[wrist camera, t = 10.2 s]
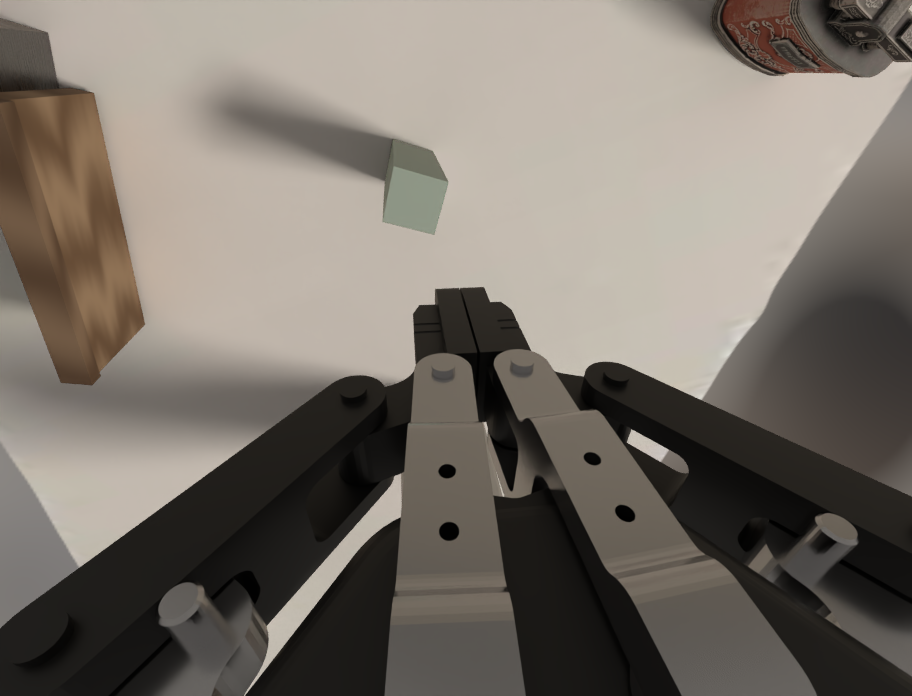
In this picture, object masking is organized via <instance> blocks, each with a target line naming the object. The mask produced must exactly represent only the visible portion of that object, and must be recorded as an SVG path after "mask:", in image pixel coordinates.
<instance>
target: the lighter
mask: <svg viewBox="0 0 912 696" xmlns="http://www.w3.org/2000/svg"><path fill="white" fill-rule="evenodd" d="M911 5H912V0H717V1H716V3H715V5H714V7H713V9H712V13H711V27H712V29H713V31H714V32H715V34H716V35H717V36H718V38H719V39H720V41H721V42H722V44H723V45H724V46H725V47H726V48H727V49H728V50H729V51H730V52H731V53H732V54H733V55H734V56H735V57H736V58H737V59H738V60H739V61H741V62H743V63H744V64H746V65H747V66H749V67H750V68H752V69H754V70H756V71H759V72H762V73H764V74H767V75H771V76H784V75H786V74H789V73H845V74H847V75H850V76H852V77H872V76H875V75H877V74H879V73H880V72H882V71H883V70H885V69H886V68H887V67H888V66H889V65H890V64H891V63H892V62H893V61H894V62H912V12H911V11H910V10H909V8H910V6H911Z"/></svg>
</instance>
